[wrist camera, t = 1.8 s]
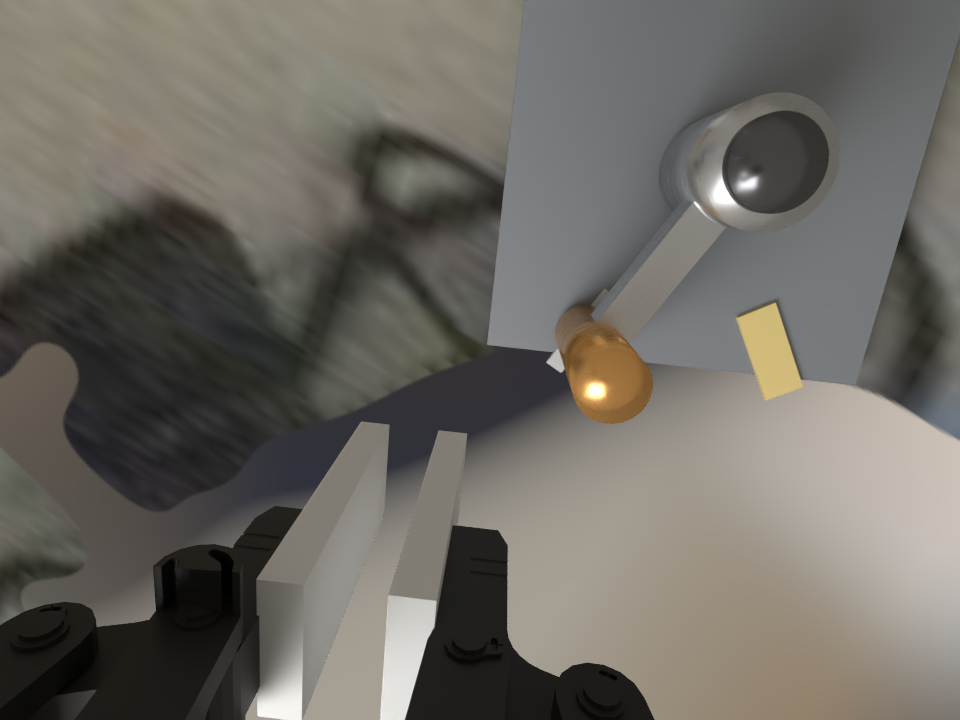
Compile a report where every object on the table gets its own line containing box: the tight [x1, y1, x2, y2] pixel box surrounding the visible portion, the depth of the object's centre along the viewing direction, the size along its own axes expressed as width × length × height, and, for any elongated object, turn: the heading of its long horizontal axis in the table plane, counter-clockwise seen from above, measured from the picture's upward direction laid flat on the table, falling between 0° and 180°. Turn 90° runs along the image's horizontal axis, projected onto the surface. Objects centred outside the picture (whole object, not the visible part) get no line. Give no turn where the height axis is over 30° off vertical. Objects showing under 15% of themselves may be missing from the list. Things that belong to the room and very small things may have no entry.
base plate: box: [487, 0, 960, 401], centre depth 29 cm, size 20×21×2 cm
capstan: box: [555, 92, 840, 424], centre depth 25 cm, size 14×5×9 cm, turn 144°
